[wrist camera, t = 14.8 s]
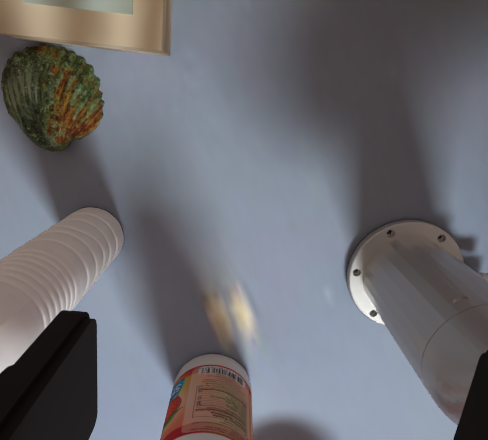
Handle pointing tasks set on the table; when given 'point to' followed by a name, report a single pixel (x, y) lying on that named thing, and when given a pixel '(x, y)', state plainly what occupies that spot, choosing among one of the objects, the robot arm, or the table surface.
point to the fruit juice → (210, 401)
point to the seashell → (52, 95)
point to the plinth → (91, 23)
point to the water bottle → (52, 276)
